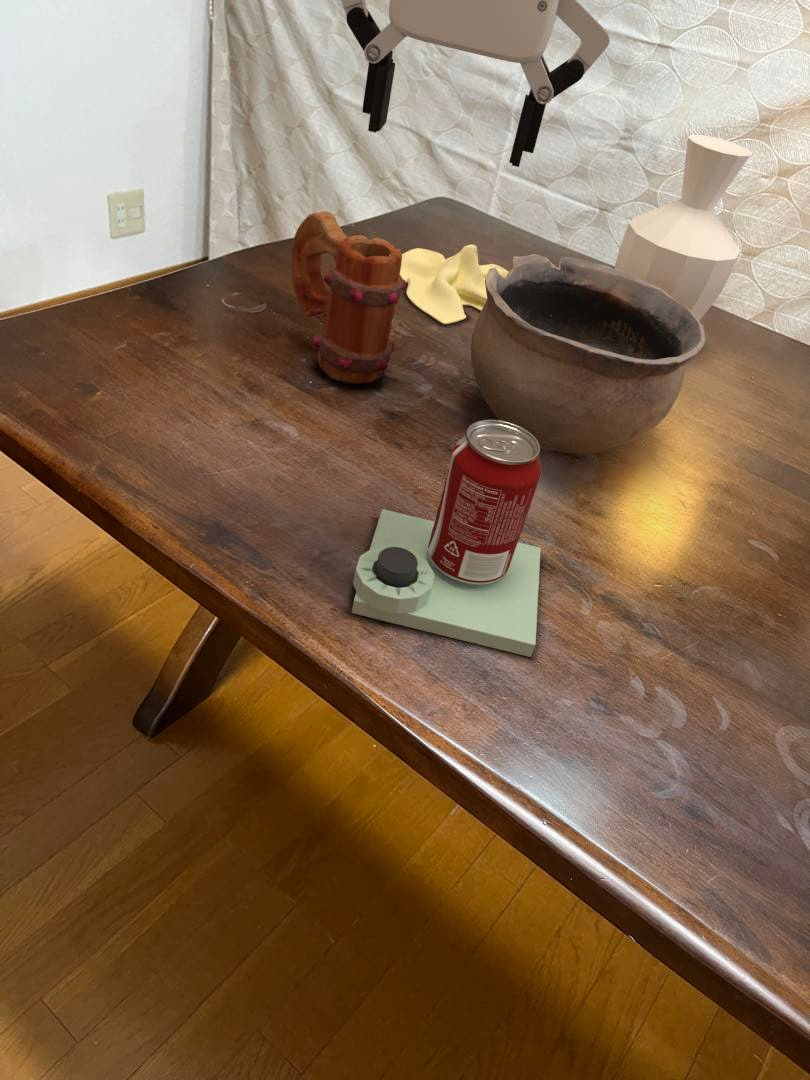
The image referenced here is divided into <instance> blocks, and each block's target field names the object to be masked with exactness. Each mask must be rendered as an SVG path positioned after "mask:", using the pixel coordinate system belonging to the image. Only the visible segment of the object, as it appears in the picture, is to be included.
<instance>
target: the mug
mask: <svg viewBox="0 0 810 1080" xmlns="http://www.w3.org/2000/svg"><path fill="white" fill-rule="evenodd" d="M293 238H294V239H293V242H292V246H291V259H290V265H291V267H290V269H291V278H292V284H293V288H294V291H295V295H296V298H297V301H298V303H299V305H300V307H301V310H302V312H303V314H304V315H305V316H306V317H307V318H309V317H315V316H317V315H321V314H325V313H326V314H325V319H324V322H322V324H320V326H319V329H318V331H317V335H315V336H314V337H312V338H311V345H312V347H313V348H314V349H316V350H317V362H318V365H319V367H320V368H321V369H322V371H323V372H324V374H326V375H327V376H328V377H329V378H331V379H333V380H335V381H338V382H341V383H344V384H350V385H351V384H366V383H367V384H368V383H372V382H374V381H375V380H378V379H379V378H380V377H382V375H383V371H385V370H386V369H388V364H389V362H390V358H391V354H392V353H393V352H394V351H395V348H396V346H395V344H394V342H392V341H391V339H390V334H391V329H392V323H393V320H394V317H395V312H396V305H397V303H398V302H399V300H400V299H401V296H402V293H403V292H402V291H404V290H405V288H406V287H407V283H406V282H405V280H404V279H402V277H401V276H400V269H401V263H402V254H403V253H402V251H401V250H400V249H399V248H395V246H394V245H393V244H392V243H391V242H390V241H388V240H385V239H383V238H379V237H373V238H372V239H368V237H366V236H365V235H362V234H360V235H359V234H358V235H350V236H348V235H346V234H345V233H344V231H343V230H342V228H341V226H340V225H339V223H338V220H337V219H336V216H335V215H334V214H333V213H331V212H329V211H320V212H314V213H310V214H308V215H307V216H306V217H305V218H304V219H303V221H302V222H301V223H300V225H299V226H298V228H297V229H296V232H295V234H294V237H293ZM325 254H329V255H331V256H332V257H333V258H334V260H333V262H332V264H330V266H329V270H328V272H327V273H326V274H324V276H323V275H322V255H325ZM325 283H326V285H327V286H328V287H329V291H328V288H327V287H326V285H325Z"/></svg>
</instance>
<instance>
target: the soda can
mask: <svg viewBox="0 0 810 1080" xmlns="http://www.w3.org/2000/svg"><path fill="white" fill-rule="evenodd" d="M540 451H541V447H540V445H539V443H538V441H537V439H536V438H535V437H534V436H533V435H532V434H531V433H530V432H528V431H527V430H525V429H524V428H522V427H520V426H517V425H515V424H512V423H509V422H505V421H500V420H499V419H483V420H479V421H475V422H473V423H471V425H469V426H468V428H467V430H466V433H465V436H463V437H462V438H460V439H459V440H458V441H457V442H456V443H455V444H454V446H453V449H452V453H451V457H450V461H449V465H448V469H447V471H446V472H447V473H446V476H445V480H444V484H443V487H442V491H441V495H440V499H439V503H438V507H437V510H436V511H437V512H436V513H435V519H434V521H433V522H434V525H433V529H432V533H431V537H430V541H429V545H428V554H429V558H430V560H431V561H432V563H433V564H434V566H435V567H436V568H437V569H438V570H439V571H440V572H442V573H443V574H445V575H446V576H448V577H450V578H452V579H454V580H456V581H459V582H462V583H467V584H473V585H484V584H490V583H493V582H496V581H498V580H500V579H501V578H503V577H504V576H505V575H506V573H507V571H508V569H509V566H510V563H511V560H512V558H513V555H514V552H515V549H516V546H517V543H518V542H519V540H520V537H521V535H522V531H523V528H524V525H525V522H526V519H527V517H528V514H529V510H530V508H531V505H532V502H533V500H534V496H535V494H536V490H537V488H538V484H539V482H540V479H541V475H542V470H543V469H542V463H541V461H540V458H539V455H540Z"/></svg>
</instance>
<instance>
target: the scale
mask: <svg viewBox="0 0 810 1080" xmlns="http://www.w3.org/2000/svg"><path fill="white" fill-rule="evenodd" d="M434 522H435V521H433V520H429V519H426V518H422V517H416V516H412V515H408V514H405V513H401V512H396V511H392V510H388V509H384V508H382V509H381V512H380V515H379V517H378V521H377V524H376V528H375V529H374V534H373V537H372V540H371V544H370V547H369V550H367V551H365V552H364V553H362V554H361V555H360V556H359V557H358V559H357V564H356V566H355V571H354V576H353V580H352V585H353V587H354V590H355V591H356V592H355V596H354V599H353V603H352V608H351V614H354V615H358V616H361V617H366V618H371V619H373V620H378V621H382V622H385V623H390V624H394V625H399V626H402V627H406V628H411V629H414V630H417V631H423V632H428V633H431V634H434V635H439V636H443V637H448V638H450V639H451V638H452V639H455V640H459V641H464V642H467V643H471V644H475V645H480V646H483V647H488V648H492V649H496V650H500V651H504V652H508V653H512V654H515V655H521V656H524V657H528V658H531V657H532V655H533V652H534V651H535V648H536V644H537V643H536V642H537V626H538V624H537V623H538V606H539V605H538V604H539V590H540V589H539V586H540V585H539V584H540V567H541V551H542V548H541V547H539V546H535V545H532V544H527V543H524V542H523V543H522V542H520V541H518V543H517V546H516V549H515V552H514V555H513V558H512V560H511V563H510V566H509V569H508V571H507V573H506V575H505V576H504V577H503V578H501V579H500V580H498V581H496V582H493V583H490V584H484V585H473V584H467V583H462V582H459V581H456V580H454V579H452V578H450V577H448V576H446V575H445V574H443V573H442V572H440V571H439V570H438V569H437V568H436V567H435V566H434V564H433V563H432V561H431V560H430V558H429V554H428V545H429V541H430V537H431V533H432V529H433V525H434ZM389 547H400V548H404V549H406V550H408V551H410V552H411V553H413V554H414V555H415V557H416V558H417V561H418V565H417V569H416V573H415V577H414V580H413V582H412V583H411V584H410V585H409V586H407V587H402V588H396V587H392V586H388V585H385V584H383V583H382V582H381V581H379V580H378V579H377V577H376V574H375V571H376V566H377V561H378V557H379V554H380V552H381V551H382V550H384V549H386V548H389Z"/></svg>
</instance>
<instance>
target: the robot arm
mask: <svg viewBox="0 0 810 1080" xmlns="http://www.w3.org/2000/svg"><path fill="white" fill-rule="evenodd" d="M341 4H342V8H343V9H344V13H345V15H346V18H345V19H346V24H347V26H348V28H349V29H350V31H351V33H352V34H353V36H354V38H355V39H356V41H357V43H358V44H359V46H360V48H361V50H362V51H363V52H364V53H363V54H364V58H365V59H366V61H367V62H368V67H367V74H366V80H365V87H364V94H363V102H362V113H364V114H367V115H369V121H368V128H367V130H368V132H371V133H378V132H381V130H382V129H383V127H384V126H385V125H386V124H387V119H388V116H389V115H388V114H389V113H388V112H389V107H390V101H391V95H392V90H393V89H392V88H393V83H394V76H395V69H396V62H394V59H393V54H394V51H393V50H394V49H395V48H396V47H397V46H398V45H399V44H400V43H401V42H403V41H404V40H405V39H406V38H411V39H414V40H417V41H421V42H424V43H429V44H433V45H436V46H437V45H438V46H441V47H445V48H450V49H453V50H457V51H462V52H466V53H470V54H474V55H478V56H483V57H486V58H491V59H495V60H500V61H504V62H509V63H514V64H520V67H521V69H522V71H523V73H524V75H525V78H526V80H527V83H528V85H529V87H530V89H529V92H528V94H525V95H524V100H523V104H522V109H521V113H520V117H519V120H518V125H517V129H516V133H515V136H514V140H513V145H512V149H511V153H510V158H509V161H508V163H509V164H511V167H512V166H513V167H517V168H519V167H520V165H521V161H522V158H523V157H522V156H523V154H524V152H525V153H529V154H534V151H535V148H536V144H537V140H538V136H539V134H540V133H539V132H540V130H541V129H540V128H541V125H542V122H543V117H544V115H545V110H546V106H547V104H549V103H550V102H551V101H552V100H553V99H554V98H556V97H557V96H558V95H560V94H562V93H564V91H566V90H568V89H569V88H571V87H572V86H573V85H576V84H577V83H578V82H579V81H581V79H583V77H584V75H585V74H586V73H587V72H588V70H589V69H590V68H591V67H592V66H593V65H594V64H595V62H596V61H597V60H598V59H599V57H600V56H602V54H603V53H604V52H605V51H606V49H607V48H608V46H609V44H610V41H611V40H610V35H609V32H608V31H607V30H606V28H604V27H603V25H601V23H599V21H598V20H597V19H596V18H595V17H593V15H592V14H590V12H589V11H588V10H587V9H586V8H584V6H582V4H581V3H580V2H579V1H578V0H389V4H388V17H389V18H388V19H389V22H390V23H388V24H387V25H386V26H385V27H384V28H383V29H382V30H381V28H380V27H379V26H378V24H377V23H376V20H375V19H374V17H373V16H372V14H371V12H370V11H369V9H368V6H367V3H366V0H341ZM557 17H558V18H559V19H560V20H561V21H562V22H563V23H564V24H565V25H566V26H567V27H568V28H569V29H570V30H571V31H572V32H573V33H574V34H575V35H576V36H577V37H578V38H579V39H580V45H578V46H579V47H578V48H577V49H576V50H575V52H574V53H573V54H572V55H571V57H569V59H567V60H566V61H564V62H563V63H561V64H560V65H558V66H556V68H554V69H552V70H550V68H549V66H548V63H547V62H546V58H545V57H544V54H545V51H546V49H547V46H548V44H549V40H550V38H551V36H552V33H553V30H554V27H555V22H556V19H557Z"/></svg>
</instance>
